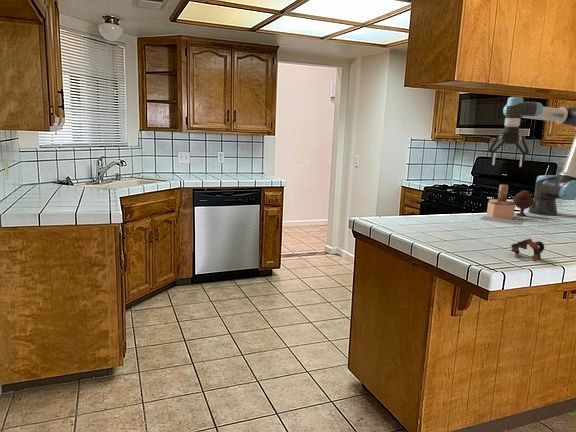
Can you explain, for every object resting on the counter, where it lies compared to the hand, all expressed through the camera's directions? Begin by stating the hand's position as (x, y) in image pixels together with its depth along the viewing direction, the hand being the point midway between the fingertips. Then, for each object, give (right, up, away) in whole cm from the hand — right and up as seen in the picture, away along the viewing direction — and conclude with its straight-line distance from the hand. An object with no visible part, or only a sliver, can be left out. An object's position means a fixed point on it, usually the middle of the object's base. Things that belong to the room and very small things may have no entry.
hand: (506, 165), depth 246 cm
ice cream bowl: (+15, -28, +13) cm, 34 cm away
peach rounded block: (-1, -20, +3) cm, 21 cm away
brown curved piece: (-31, -43, -80) cm, 97 cm away
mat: (-6, -30, -7) cm, 32 cm away
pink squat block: (-1, -28, +5) cm, 29 cm away
